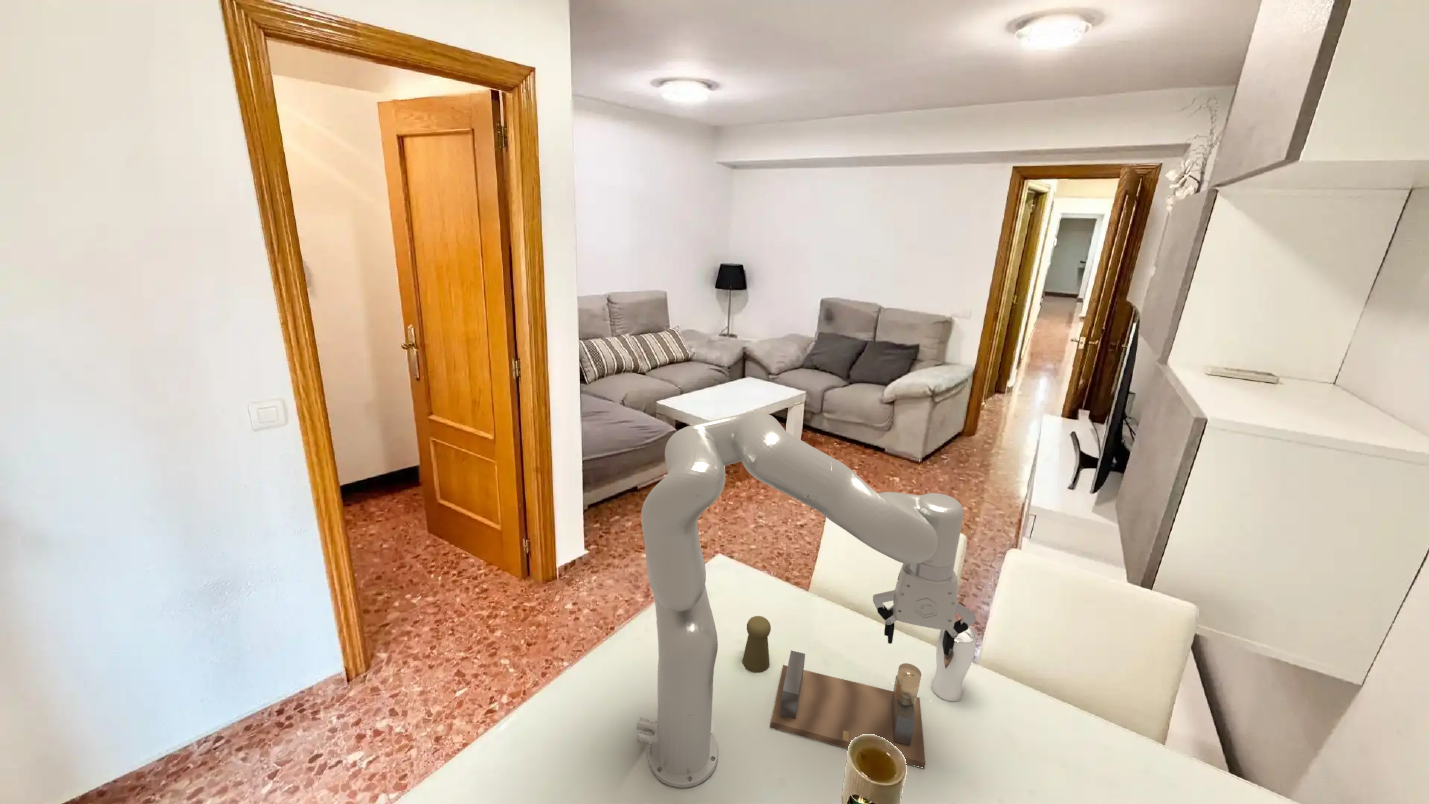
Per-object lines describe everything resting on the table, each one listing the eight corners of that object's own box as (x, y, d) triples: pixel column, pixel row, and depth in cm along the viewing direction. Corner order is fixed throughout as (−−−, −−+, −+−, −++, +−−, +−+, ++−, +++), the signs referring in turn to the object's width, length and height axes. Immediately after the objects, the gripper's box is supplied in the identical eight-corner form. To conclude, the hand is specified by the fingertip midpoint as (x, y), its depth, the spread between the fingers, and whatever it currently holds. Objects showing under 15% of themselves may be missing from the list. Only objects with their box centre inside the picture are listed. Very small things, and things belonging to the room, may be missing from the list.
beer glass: (964, 684, 118) (977, 626, 113) (964, 708, 112) (977, 648, 107) (930, 673, 120) (941, 615, 116) (927, 696, 114) (939, 636, 110)
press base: (770, 727, 106) (773, 696, 103) (782, 670, 119) (785, 642, 117) (924, 769, 99) (930, 737, 96) (918, 703, 112) (924, 674, 110)
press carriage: (890, 740, 102) (899, 689, 98) (889, 698, 111) (897, 650, 107) (913, 746, 101) (923, 694, 97) (910, 703, 110) (919, 655, 106)
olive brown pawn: (768, 675, 118) (771, 633, 115) (740, 670, 119) (743, 628, 116) (771, 655, 124) (774, 614, 120) (744, 650, 125) (747, 609, 121)
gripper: (878, 567, 94) (867, 648, 99) (988, 586, 90) (971, 670, 95) (878, 543, 101) (868, 621, 106) (980, 560, 96) (965, 640, 102)
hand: (917, 644), depth 100 cm, fingers open, 9 cm apart
